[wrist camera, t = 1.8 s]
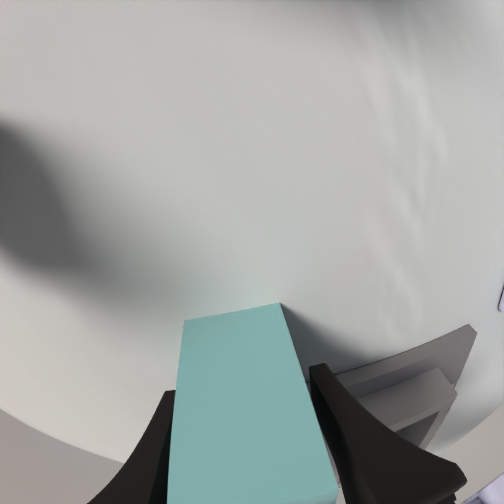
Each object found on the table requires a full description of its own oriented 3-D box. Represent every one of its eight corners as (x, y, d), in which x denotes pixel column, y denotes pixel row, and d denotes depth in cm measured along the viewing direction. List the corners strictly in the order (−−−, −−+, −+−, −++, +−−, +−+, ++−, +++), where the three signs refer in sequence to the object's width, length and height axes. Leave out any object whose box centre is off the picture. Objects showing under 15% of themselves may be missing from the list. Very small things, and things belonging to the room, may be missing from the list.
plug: (279, 302, 12) (354, 541, 3) (291, 379, 14) (337, 552, 5) (184, 320, 12) (166, 560, 3) (214, 393, 14) (224, 568, 5)
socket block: (468, 323, 14) (499, 356, 11) (428, 421, 19) (443, 448, 16) (254, 393, 14) (262, 449, 11) (278, 470, 19) (285, 504, 16)
